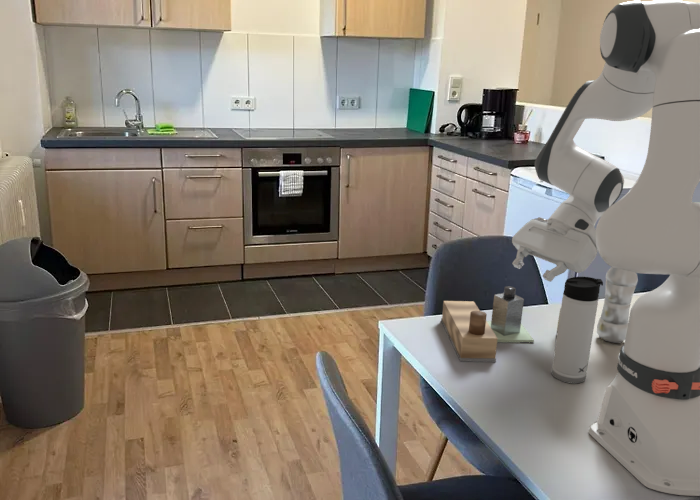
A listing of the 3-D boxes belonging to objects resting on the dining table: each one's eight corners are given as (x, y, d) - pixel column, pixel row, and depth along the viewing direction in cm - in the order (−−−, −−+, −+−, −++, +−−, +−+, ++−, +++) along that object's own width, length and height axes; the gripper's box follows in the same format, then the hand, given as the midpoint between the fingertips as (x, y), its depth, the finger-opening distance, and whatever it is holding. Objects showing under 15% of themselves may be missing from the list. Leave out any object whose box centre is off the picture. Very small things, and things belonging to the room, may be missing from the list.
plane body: (495, 361, 128) (500, 320, 125) (460, 361, 127) (464, 319, 125) (471, 321, 147) (475, 284, 145) (441, 320, 147) (444, 283, 144)
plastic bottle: (621, 334, 143) (636, 250, 137) (630, 347, 137) (646, 259, 131) (591, 332, 144) (605, 248, 138) (599, 345, 137) (614, 257, 132)
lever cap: (519, 332, 141) (525, 290, 138) (504, 335, 139) (509, 292, 136) (506, 325, 144) (511, 283, 142) (490, 328, 142) (495, 286, 140)
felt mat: (533, 342, 137) (534, 340, 137) (488, 342, 137) (488, 339, 137) (519, 324, 147) (519, 321, 147) (477, 323, 146) (477, 320, 146)
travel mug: (589, 386, 120) (606, 286, 114) (553, 381, 121) (567, 282, 115) (584, 371, 125) (600, 275, 120) (550, 366, 127) (563, 271, 121)
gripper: (529, 207, 149) (492, 251, 147) (599, 228, 132) (558, 278, 130) (540, 224, 153) (505, 267, 151) (610, 246, 135) (571, 295, 134)
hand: (530, 272), depth 140 cm, fingers open, 8 cm apart
